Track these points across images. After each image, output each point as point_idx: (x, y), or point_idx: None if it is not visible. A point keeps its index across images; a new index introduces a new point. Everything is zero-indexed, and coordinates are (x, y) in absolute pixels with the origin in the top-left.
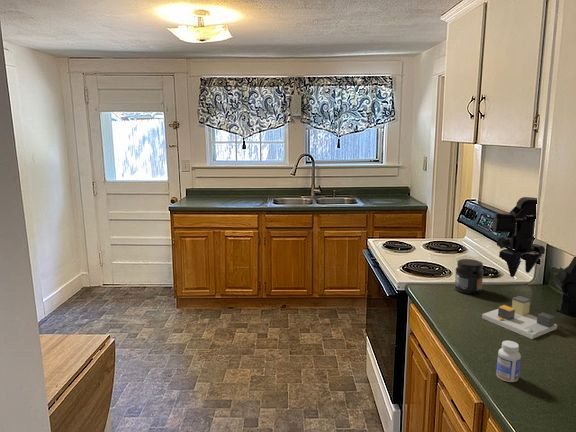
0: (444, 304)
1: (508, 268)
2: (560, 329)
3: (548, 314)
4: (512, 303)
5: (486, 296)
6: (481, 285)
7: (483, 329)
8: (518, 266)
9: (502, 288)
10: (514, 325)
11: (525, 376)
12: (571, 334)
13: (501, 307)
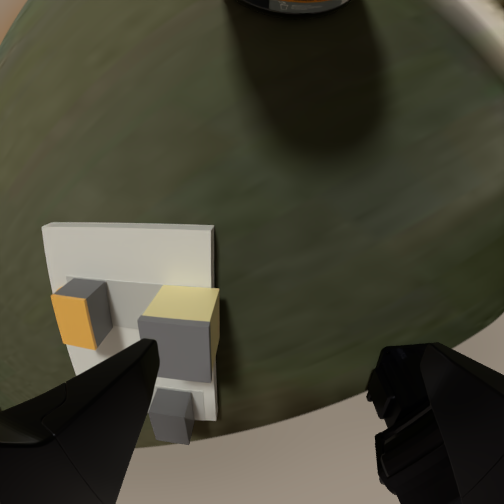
0: (45, 53)
1: (71, 379)
2: (225, 415)
3: (185, 431)
4: (149, 306)
5: (297, 59)
6: (319, 2)
7: (12, 279)
8: (109, 498)
9: (459, 72)
10: (77, 347)
11: (3, 405)
12: (219, 436)
13: (55, 307)
